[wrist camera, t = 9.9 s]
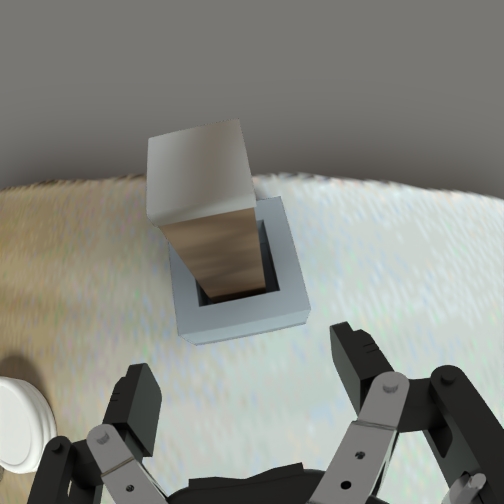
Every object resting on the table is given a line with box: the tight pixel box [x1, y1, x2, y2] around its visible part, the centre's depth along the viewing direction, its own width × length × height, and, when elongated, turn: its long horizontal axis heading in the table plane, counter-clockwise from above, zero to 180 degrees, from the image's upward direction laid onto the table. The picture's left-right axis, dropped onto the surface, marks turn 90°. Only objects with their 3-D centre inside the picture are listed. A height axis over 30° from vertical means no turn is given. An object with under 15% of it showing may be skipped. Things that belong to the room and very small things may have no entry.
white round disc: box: [0, 377, 57, 474], centre depth 21 cm, size 10×10×4 cm
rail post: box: [146, 118, 266, 304], centre depth 20 cm, size 4×4×15 cm
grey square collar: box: [168, 196, 311, 346], centre depth 25 cm, size 9×9×5 cm
